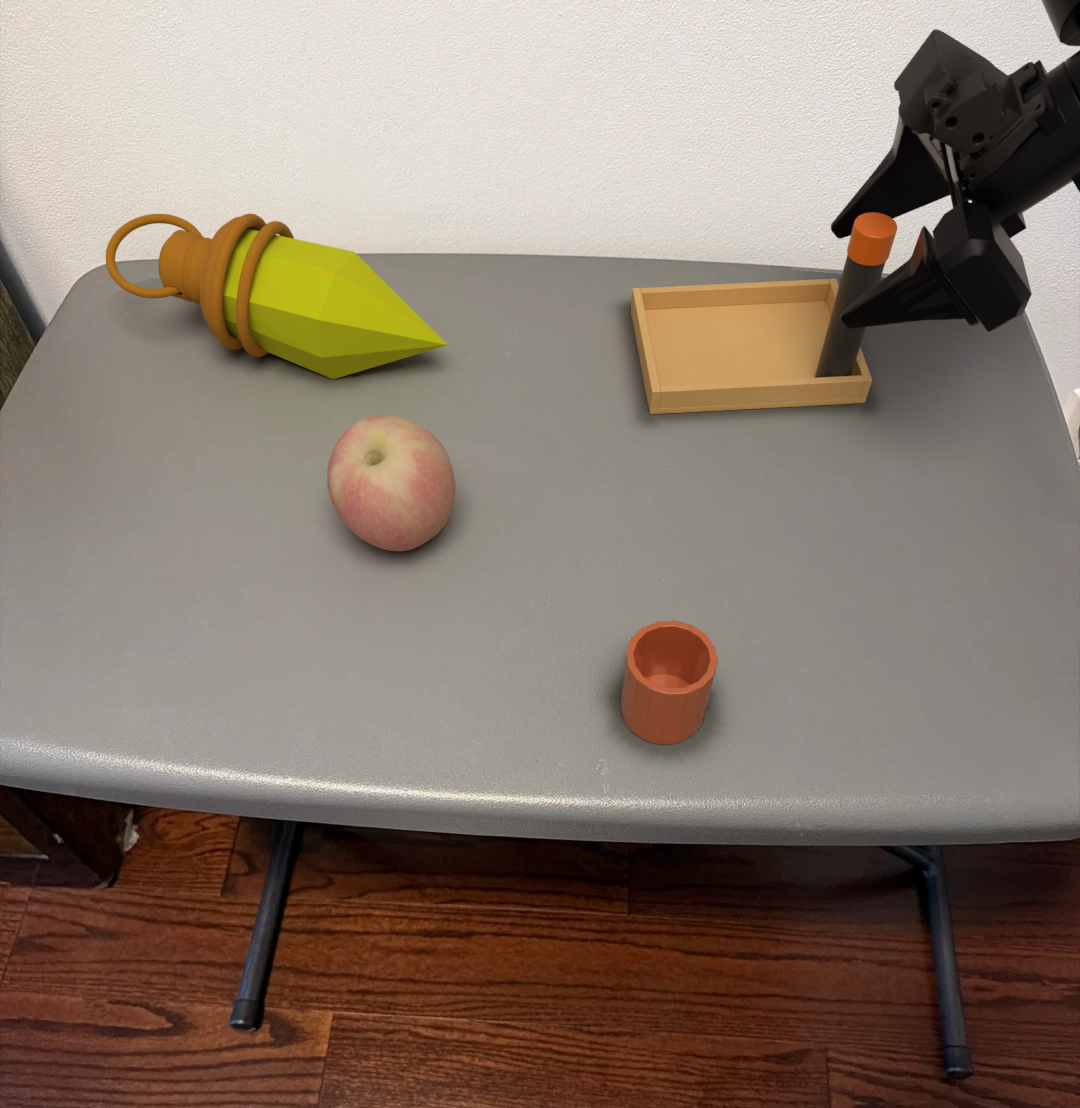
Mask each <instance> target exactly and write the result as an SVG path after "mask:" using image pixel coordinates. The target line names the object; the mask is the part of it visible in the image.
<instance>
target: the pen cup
mask: <svg viewBox="0 0 1080 1108" xmlns="http://www.w3.org/2000/svg"><path fill="white" fill-rule="evenodd" d="M716 650H717V649H716V647H715V645H714V643H713V642H712V640H711V639H710V638H709V637H708V635H707V633H706V632H703V631H702V630H700V629H699V628H697V627H696V626H694V625H693V624H690V623H686V622H682V621H678V620H660V621H655V622H652V623H650V624H647V625H645V626H643V627H641V628H640V629H639V630H638V631H637V632H636V633H635V634H634V635H633V636H631V638H630V640H629V643H628V645H627V648H626V652H625V660H624V670H623V676H622V677H623V679H622V685H621V694H620V695H621V696H620V702H621V703H620V712H621V716H622V718H623V721H624V723H625V725H626V727H628V729H629V730H630V731H631V732H632V733H633V734H634V735H636V736H637V737H639V738H640V739H642V740H644V741H646V742H648V743H651V744H657V745H674V744H679V743H682V742H684V741H686V740H688V739H690V738H691V737H692V736H694V735H695V734H696V733H697V732H698V730H699V729H700V728H701V726H702V725H703V722H704V719H705V716H706V711H707V708H708V704H709V699H710V696H711V691H712V687H713V683H714V678H715V675H716V671H717V667H718V656H717V651H716Z"/></svg>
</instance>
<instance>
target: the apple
mask: <svg viewBox="0 0 1080 1108" xmlns="http://www.w3.org/2000/svg"><path fill="white" fill-rule="evenodd" d="M326 482H327V488H328V493H329V494H328V495H329V499H330V501H331V504H332V506H333V508H334V510H335V512H336V514H337V515H338V517H339V519H340V520H341V521H342V522H343V524H344V525H345V526H346V527H347V528H348V529H349V530H350V531H351V532H353V534H355V535H356V537H358V538H360V539H361V540H363V541H365V542H366V543H368V544H370V545H372V546H373V547H376V548H379V549H382V550H386V551H391V552H405V551H410V550H413V549H416V548H419V547H420V546H422V545H424V544H426V543H427V542H429V541H430V540H431V539H433V538H434V537H435V536H436V535H438V534H439V533H440V532H441V531H442V529H443V528H444V527H445V525H446V524H447V522H448V520H449V518H450V516H451V514H452V512H453V508H454V505H455V501H456V493H457V492H456V478H455V472H454V468H453V466H452V462H451V460H450V456H449V454H448V451H447V450H446V448H445V447H444V445H443V443H442V442H441V440H439V438H438V437H436V435H435V434H434V433H432V432H431V431H430V430H428V429H427V428H425V427H423V426H422V425H420V424H419V423H416V422H415V421H413V420H410V419H407V418H403V417H399V416H395V415H388V414H387V415H386V414H381V415H373V416H370V417H366V418H363V419H360V420H358V421H356V422H354V423H353V424H351V425H350V426H349V427H347V428H346V429H345V430H344V431H343V432H342V434H341V435H340V437H339V438H338V440H337V441H336V443H335V444H334V447H333V449H332V451H331V454H330V457H329V459H328V464H327V470H326Z"/></svg>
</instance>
